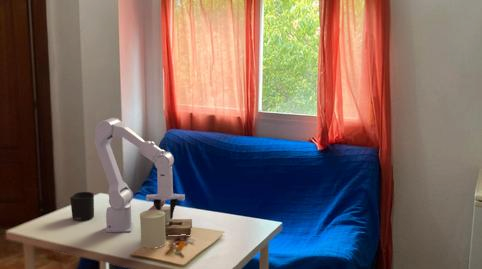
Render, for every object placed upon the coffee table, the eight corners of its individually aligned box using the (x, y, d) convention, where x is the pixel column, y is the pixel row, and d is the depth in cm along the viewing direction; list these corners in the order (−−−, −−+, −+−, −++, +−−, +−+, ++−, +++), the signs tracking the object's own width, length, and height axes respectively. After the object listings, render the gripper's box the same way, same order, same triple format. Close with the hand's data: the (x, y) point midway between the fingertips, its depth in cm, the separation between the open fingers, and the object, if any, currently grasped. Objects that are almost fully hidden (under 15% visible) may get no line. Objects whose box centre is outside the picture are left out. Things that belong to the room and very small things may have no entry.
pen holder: (68, 217, 213) (66, 194, 212) (89, 212, 219) (87, 190, 218) (77, 223, 206) (75, 200, 204) (98, 218, 212) (97, 195, 211)
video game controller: (154, 218, 216) (161, 205, 214) (145, 213, 217) (152, 200, 215) (162, 211, 226) (169, 198, 224) (154, 206, 226) (160, 193, 224)
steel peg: (160, 233, 195) (160, 209, 194) (162, 229, 199) (161, 206, 198) (171, 233, 196) (170, 209, 194) (172, 229, 199) (171, 206, 198)
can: (162, 249, 181) (161, 217, 178) (137, 248, 182) (136, 216, 180) (169, 239, 190) (168, 208, 187) (145, 238, 191) (144, 207, 189)
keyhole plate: (153, 236, 192) (153, 228, 192) (156, 227, 202) (156, 219, 201) (190, 236, 193) (190, 228, 192) (192, 226, 202) (191, 219, 202)
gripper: (144, 187, 190) (145, 221, 192) (183, 187, 190) (184, 221, 192) (147, 182, 197) (148, 215, 199) (184, 181, 197) (185, 215, 199)
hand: (166, 218), depth 196 cm, fingers closed on steel peg, 4 cm apart
